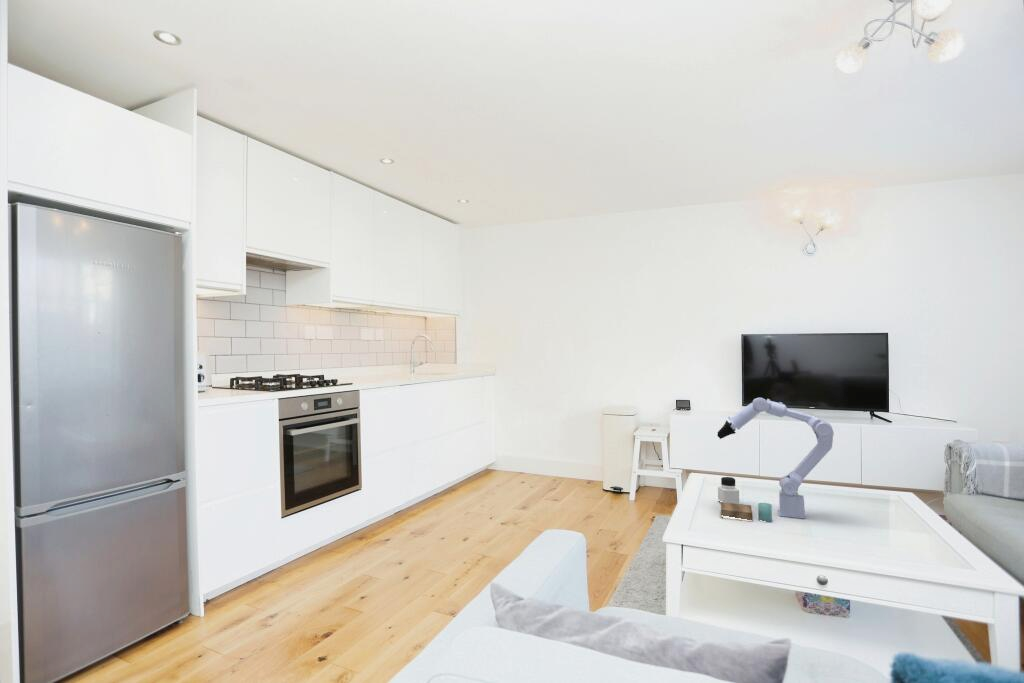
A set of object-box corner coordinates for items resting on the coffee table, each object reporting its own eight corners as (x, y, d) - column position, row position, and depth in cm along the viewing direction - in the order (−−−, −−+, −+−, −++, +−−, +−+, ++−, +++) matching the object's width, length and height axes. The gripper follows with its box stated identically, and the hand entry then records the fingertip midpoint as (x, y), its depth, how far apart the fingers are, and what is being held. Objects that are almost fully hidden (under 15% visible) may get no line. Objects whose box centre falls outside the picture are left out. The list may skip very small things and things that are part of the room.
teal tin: (771, 519, 215) (771, 503, 216) (772, 522, 211) (772, 506, 211) (758, 517, 217) (758, 502, 217) (758, 521, 213) (758, 505, 213)
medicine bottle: (739, 505, 235) (739, 479, 236) (723, 505, 235) (723, 479, 236) (733, 501, 242) (732, 475, 243) (717, 501, 242) (717, 475, 243)
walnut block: (751, 514, 223) (751, 505, 223) (752, 522, 212) (752, 512, 212) (721, 511, 228) (721, 502, 228) (721, 519, 217) (721, 509, 217)
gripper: (736, 408, 237) (712, 426, 241) (737, 411, 224) (712, 430, 227) (747, 420, 235) (723, 439, 239) (749, 424, 222) (723, 443, 225)
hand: (718, 435), depth 233 cm, fingers open, 7 cm apart
